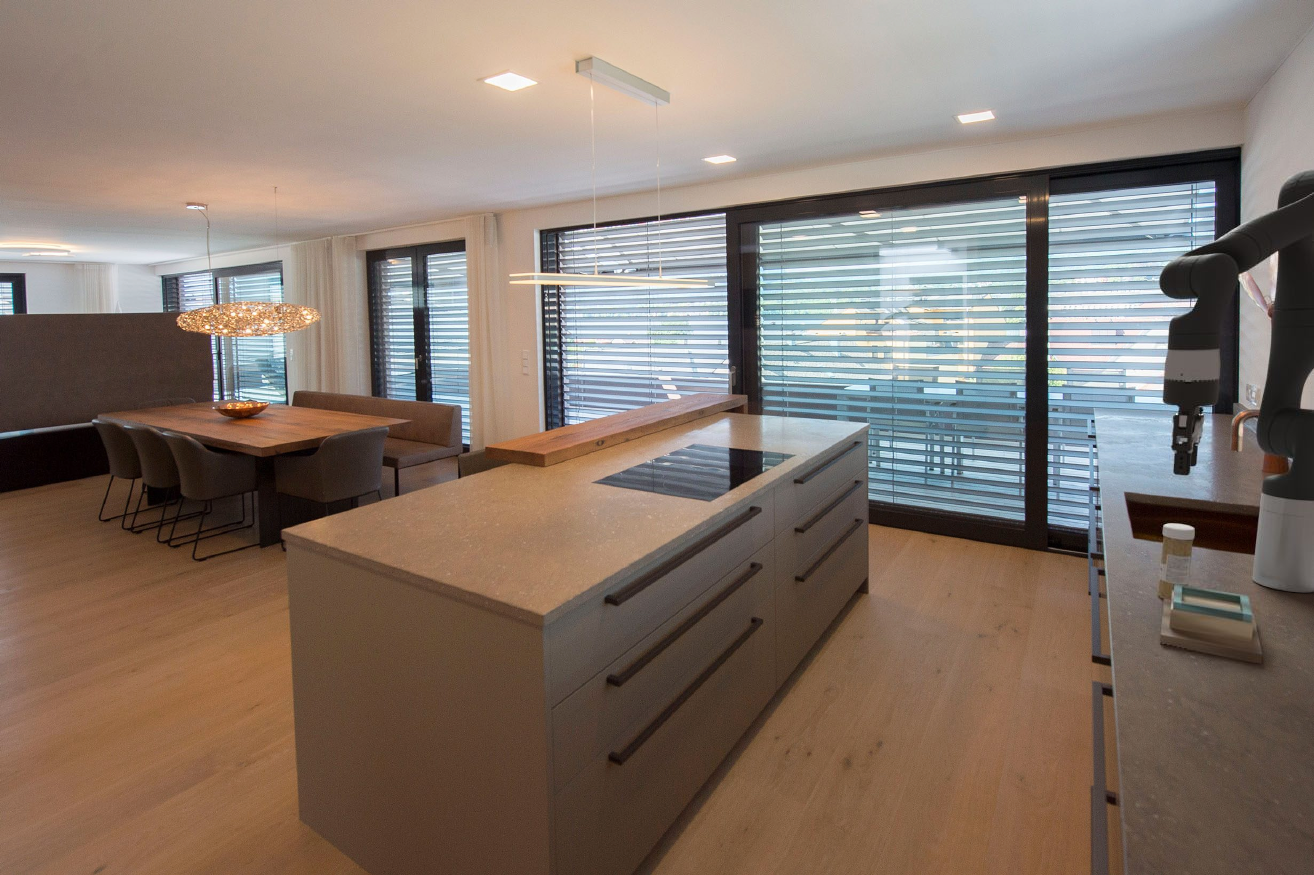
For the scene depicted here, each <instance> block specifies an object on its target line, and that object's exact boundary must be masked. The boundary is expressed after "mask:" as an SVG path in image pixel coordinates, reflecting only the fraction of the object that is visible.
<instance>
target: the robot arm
mask: <svg viewBox="0 0 1314 875" xmlns="http://www.w3.org/2000/svg"><path fill="white" fill-rule="evenodd" d="M1276 207H1277V209H1275V210H1272V211H1270V212H1266V213H1264V214H1262V215H1261V214H1260V215H1258V216H1256V217H1254V218H1252V219H1250V220H1247V221H1245V222H1243V223H1242V224H1240V225H1238V226H1236V227H1235V228H1233V229H1231V230H1230V231H1229V232H1227V233H1225V234H1224V235H1222V236H1221V237H1219V238H1218V239H1217V240H1214V241H1211V242H1210V243H1206V244H1203V245H1202V246H1198V247H1196V248H1195V249H1192V250H1189V251H1186V252H1185V253H1182V254H1180V255H1178V256H1177V257H1175V258H1173V259H1172V260H1170V261H1169V262H1168V263H1167V264H1166V265H1165V266H1164V268H1162V271H1161V274H1160V275H1159V280H1158V283H1159V289H1160V290H1161V293H1163V294H1164V295H1165V296H1166V297H1168V298H1170V299H1174V300H1193V299H1194V300H1195V299H1197V300H1196V302H1195V303H1194V305H1193V308H1192V309H1191V311H1189V312H1186V313H1182V314H1178V315H1175V316H1174V317H1172V318H1171V320H1169V321H1170V322H1169V325H1168V335H1167V336H1168V338H1167V353H1166V357H1165V361H1164V371H1163V373H1164V374H1163V389H1162V402H1163V403H1164V405H1168V406H1169V405H1170V406H1177V408H1178V412H1177V413H1175V414H1174V415H1173V416H1172V426H1173V427H1172V432H1171V438H1172V440H1171V441H1172V443H1171V445H1170V448H1171V451H1172V452H1173V453H1174V456H1173V470H1172V471H1173V474H1174V475H1176V476H1189V475H1190V474H1191V467H1193V468H1194V467H1195V466H1197V464H1198V463H1197V462H1198V450H1199V445H1200V444H1201V438H1202V437H1203V432H1204V426H1203V425H1204V422H1205V414H1203V412H1204V408H1203V407H1209V406H1215V405H1216V404H1218V402H1219V391H1220V377H1221V376H1220V375H1221V354H1220V352H1221V351H1220V350H1221V337H1222V334H1221V333H1222V324H1223V322H1224V319H1225V317H1226V314H1227V311H1228V309H1229V306H1230V304H1231V301H1232V298H1233V296H1234V294H1235V291H1236V289H1237V286H1238V283H1239V278H1240V275H1241V274H1243V273H1246V272H1248V271H1249V270H1251V269H1252V268H1254V267H1255V266H1257V265H1260V264H1261V263H1262V262H1264V261H1265V260H1267V259H1268V258H1269V257H1271V256H1273V255H1274V254H1276V253H1277V272H1276V285H1275V294H1274V301H1273V302H1274V303H1273V309H1272V321H1271V331H1270V333H1271V335H1270V349H1269V356H1268V364H1267V373H1266V379H1265V386H1264V389H1263V394H1262V398H1261V402H1260V407H1259V412H1258V416H1257V422H1256V429H1255V430H1256V431H1255V432H1256V433H1255V435H1256V436H1255V437H1256V441H1257V444H1258V446H1259V448H1260V449H1261V451H1263V452H1264V453H1266V454H1268V455H1271V456H1276V457H1283V458H1288V459H1292V462H1291V466H1290V468H1289V469H1288V471H1286V472H1285V473H1282V474H1274V475H1269V476H1266V477H1264V478H1263V481H1262V485H1261V495H1260V504H1259V515H1258V522H1257V532H1256V542H1255V550H1254V551H1255V552H1254V559H1253V560H1254V561H1253V570H1252V580H1253V582H1254V583H1257V584H1258V585H1262V586H1264V587H1268V588H1271V589H1274V590H1281V591H1284V592H1295V593H1314V409H1312V408H1311V409H1310V408H1309V409H1308V408H1301V403H1302V396H1303V393H1304V392H1303V391H1304V387H1305V383H1306V382H1307V379H1308V378H1309V376H1310V374H1311V373H1312V372H1313V370H1314V169H1310V170H1305V171H1300V172H1296V173H1294V174H1292V175H1290V176H1288V177H1287V179H1286V180H1285V181H1284V182H1283V183H1282V185H1281V188H1280V190H1279V193H1278V198H1277V206H1276Z"/></svg>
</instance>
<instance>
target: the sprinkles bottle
mask: <svg viewBox="0 0 1314 875" xmlns="http://www.w3.org/2000/svg"><path fill="white" fill-rule="evenodd" d="M1162 535H1163V536H1162V537H1163V542H1162V549H1161V557H1160V564H1159V566H1160V568H1159V577H1158V578H1159V581H1158V582H1159V583H1158V591H1157V596H1158V597H1159V598H1160V599H1163V600H1164V599H1169V600H1171V598H1172V590H1174V586H1175V584H1177V585H1183V586H1189V584H1190V580H1191V579H1190V576H1191V568H1192V566H1191V565H1192V557H1193V556H1192V555H1193V554H1192V550H1193V542H1194V539H1195V535H1196V532H1195V527H1193V526H1191V525H1188V524H1183V523H1172V522H1171V523H1166V524H1163V527H1162Z"/></svg>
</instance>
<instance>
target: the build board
mask: <svg viewBox="0 0 1314 875" xmlns="http://www.w3.org/2000/svg"><path fill="white" fill-rule="evenodd" d="M1162 606H1163V607H1162V618H1161V625H1160V626H1161V628H1160V636H1159V638H1160V640H1159V644H1160V643H1162V644H1161V645H1164V644H1167V645H1166V646H1169V645H1173V646H1172V647H1174V646H1177V647H1176V648H1179V647H1182V648H1181V649H1184V648H1187V649H1186V650H1190V651H1194V650H1195V651H1194V652H1200V653H1203V654H1208V655H1209V654H1210V655H1215V656H1219V657H1224V658H1229V659H1233V660H1234V659H1235V660H1239V661H1245V662H1249V663H1255V664H1259V665H1262V660H1263V652H1262V648H1261V646H1262V645H1261V641H1260V638H1259V633H1258V627H1257V623H1256V618H1255V614H1254V613H1252V608H1251V604H1250V599H1249V595H1246V594H1239V593H1233V592H1227V591H1219V590H1214V589H1213V590H1212V589H1209V588H1202V587H1195V586H1189V585H1188V586H1183V585H1177V584H1175V586H1174V590H1172V598H1171V600H1169V599H1163V605H1162Z"/></svg>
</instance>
